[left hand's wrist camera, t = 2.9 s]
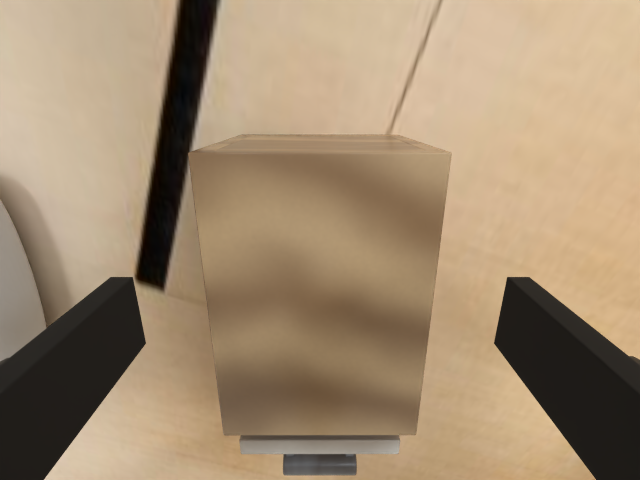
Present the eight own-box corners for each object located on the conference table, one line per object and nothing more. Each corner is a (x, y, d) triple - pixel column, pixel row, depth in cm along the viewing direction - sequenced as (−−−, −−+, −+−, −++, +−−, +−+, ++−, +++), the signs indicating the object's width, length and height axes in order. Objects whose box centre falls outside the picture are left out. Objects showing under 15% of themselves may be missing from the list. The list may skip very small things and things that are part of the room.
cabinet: (384, 327, 31) (416, 435, 21) (255, 327, 31) (223, 435, 21) (398, 134, 25) (452, 152, 15) (240, 134, 25) (187, 152, 15)
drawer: (373, 411, 33) (392, 515, 25) (265, 411, 33) (247, 515, 25) (389, 191, 26) (422, 231, 17) (250, 191, 26) (216, 231, 17)
